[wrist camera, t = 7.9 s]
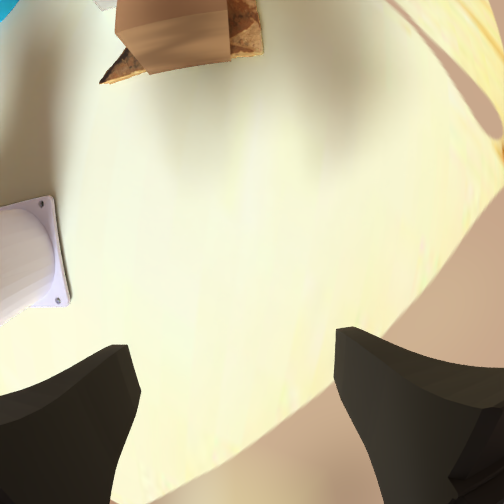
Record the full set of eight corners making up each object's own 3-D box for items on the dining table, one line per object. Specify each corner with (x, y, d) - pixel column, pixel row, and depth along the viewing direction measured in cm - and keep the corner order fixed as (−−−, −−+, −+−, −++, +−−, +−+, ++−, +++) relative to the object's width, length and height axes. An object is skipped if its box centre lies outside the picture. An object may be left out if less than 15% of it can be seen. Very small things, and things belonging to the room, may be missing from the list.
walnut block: (149, 74, 15) (114, 33, 10) (148, 14, 14) (121, -36, 9) (230, 61, 16) (227, 9, 10) (224, 1, 14) (219, -56, 9)
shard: (106, 90, 17) (96, 82, 15) (110, 9, 15) (102, -2, 14) (263, 63, 17) (266, 52, 16) (251, -16, 16) (252, -30, 14)
